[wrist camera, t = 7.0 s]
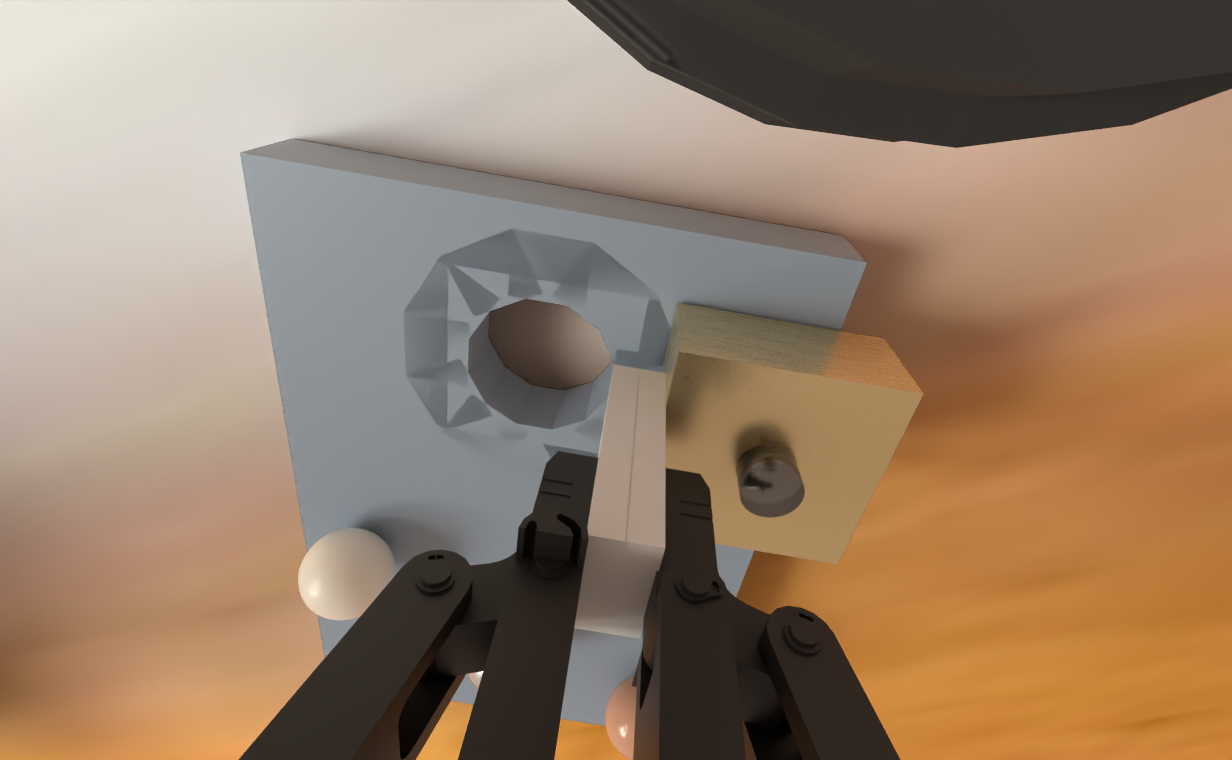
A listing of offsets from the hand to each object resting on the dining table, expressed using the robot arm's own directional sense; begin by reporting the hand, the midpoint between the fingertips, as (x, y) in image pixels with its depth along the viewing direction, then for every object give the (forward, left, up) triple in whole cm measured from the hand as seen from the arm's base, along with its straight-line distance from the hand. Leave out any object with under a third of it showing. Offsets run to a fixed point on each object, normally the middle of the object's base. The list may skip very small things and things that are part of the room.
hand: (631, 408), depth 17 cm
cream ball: (-9, -9, 0) cm, 13 cm away
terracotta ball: (+3, -15, 0) cm, 15 cm away
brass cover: (+4, 0, -1) cm, 4 cm away
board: (-3, -7, -4) cm, 9 cm away
